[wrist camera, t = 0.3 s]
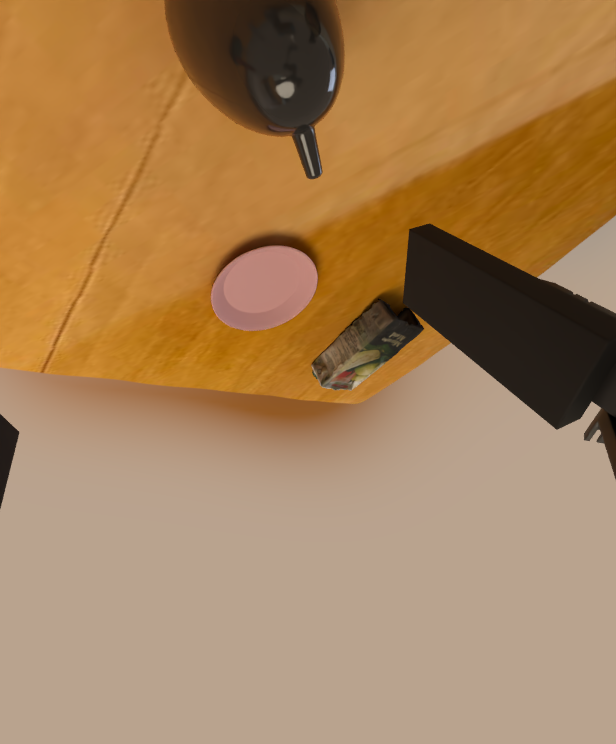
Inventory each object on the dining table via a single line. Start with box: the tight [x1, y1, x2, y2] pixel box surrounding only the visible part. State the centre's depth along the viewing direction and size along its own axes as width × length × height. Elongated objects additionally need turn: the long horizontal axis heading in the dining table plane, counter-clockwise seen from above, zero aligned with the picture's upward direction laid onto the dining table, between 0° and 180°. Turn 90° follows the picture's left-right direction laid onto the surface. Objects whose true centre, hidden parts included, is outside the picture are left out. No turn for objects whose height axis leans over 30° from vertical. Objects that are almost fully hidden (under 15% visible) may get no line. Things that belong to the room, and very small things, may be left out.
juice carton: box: [311, 299, 424, 391], centre depth 66 cm, size 20×10×6 cm, turn 141°
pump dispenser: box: [164, 0, 345, 179], centre depth 22 cm, size 10×10×15 cm
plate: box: [211, 246, 318, 331], centre depth 47 cm, size 14×14×2 cm
